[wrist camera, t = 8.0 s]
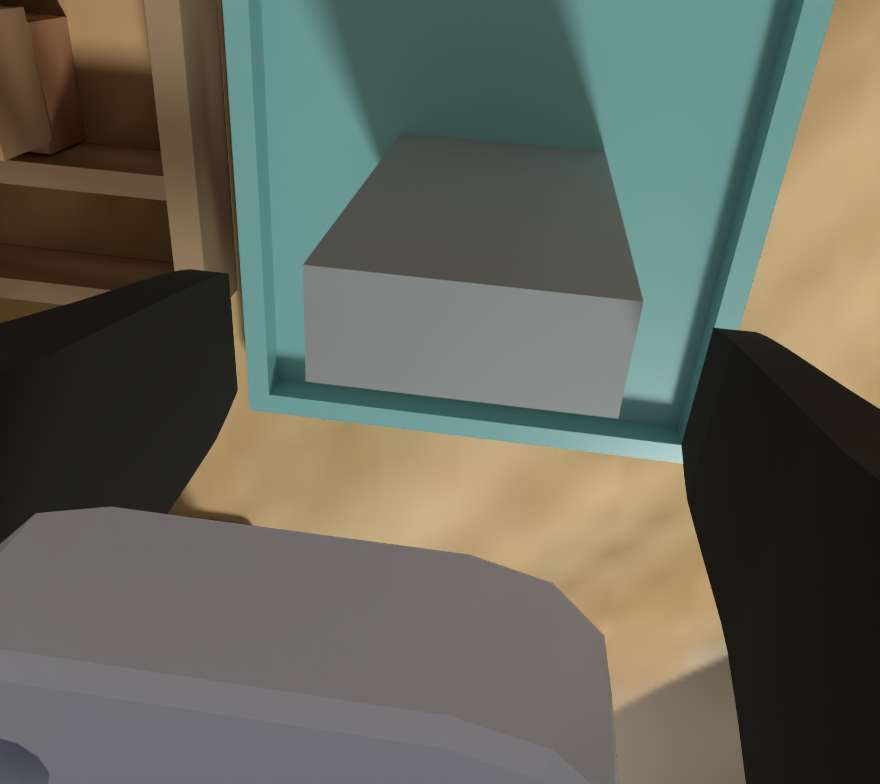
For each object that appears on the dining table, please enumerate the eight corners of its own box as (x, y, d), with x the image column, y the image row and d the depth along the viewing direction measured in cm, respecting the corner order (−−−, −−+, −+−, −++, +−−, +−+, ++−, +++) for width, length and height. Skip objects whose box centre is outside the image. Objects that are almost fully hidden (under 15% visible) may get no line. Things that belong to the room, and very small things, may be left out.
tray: (690, 436, 23) (698, 465, 22) (265, 384, 24) (249, 409, 23) (847, -125, 16) (873, -130, 15) (235, -169, 17) (210, -177, 16)
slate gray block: (591, 231, 20) (618, 418, 12) (398, 211, 20) (305, 381, 13) (605, 151, 19) (643, 301, 11) (401, 132, 19) (302, 264, 12)
